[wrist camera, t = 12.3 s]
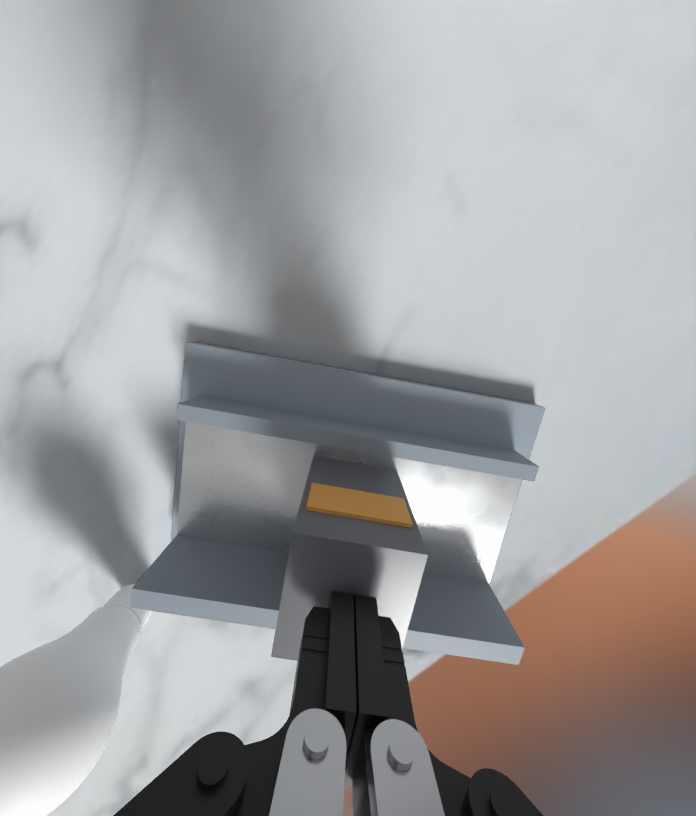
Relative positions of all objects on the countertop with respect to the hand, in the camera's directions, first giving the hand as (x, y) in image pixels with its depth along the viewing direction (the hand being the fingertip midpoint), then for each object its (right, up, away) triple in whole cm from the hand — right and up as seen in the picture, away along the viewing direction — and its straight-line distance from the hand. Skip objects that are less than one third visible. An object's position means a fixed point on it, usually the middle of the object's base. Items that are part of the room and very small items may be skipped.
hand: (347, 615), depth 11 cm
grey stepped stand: (0, +3, +9) cm, 10 cm away
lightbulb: (-14, -5, +11) cm, 19 cm away
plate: (0, +2, +9) cm, 9 cm away
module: (0, +2, +7) cm, 7 cm away
